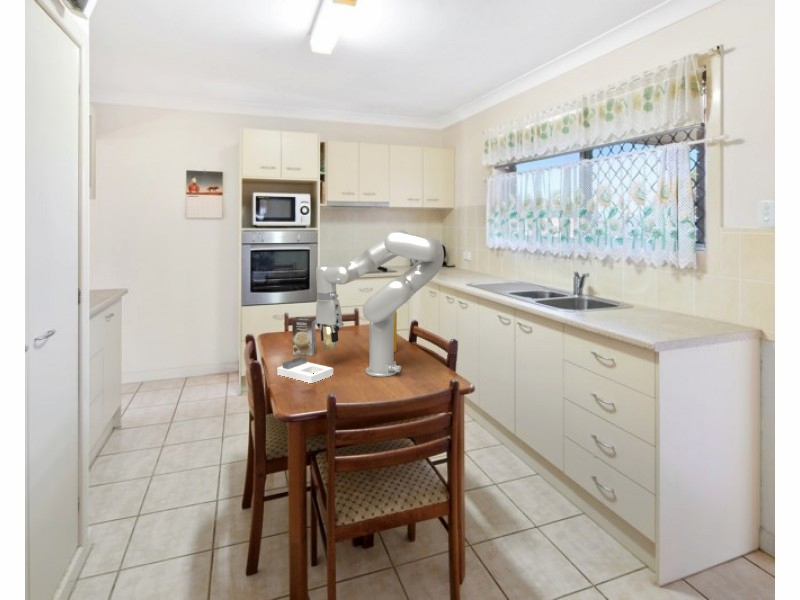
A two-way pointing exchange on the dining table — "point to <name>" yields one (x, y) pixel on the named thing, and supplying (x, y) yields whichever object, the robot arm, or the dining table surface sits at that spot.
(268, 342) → the dining table surface
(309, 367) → the jig
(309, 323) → the coffee box
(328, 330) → the bushing
